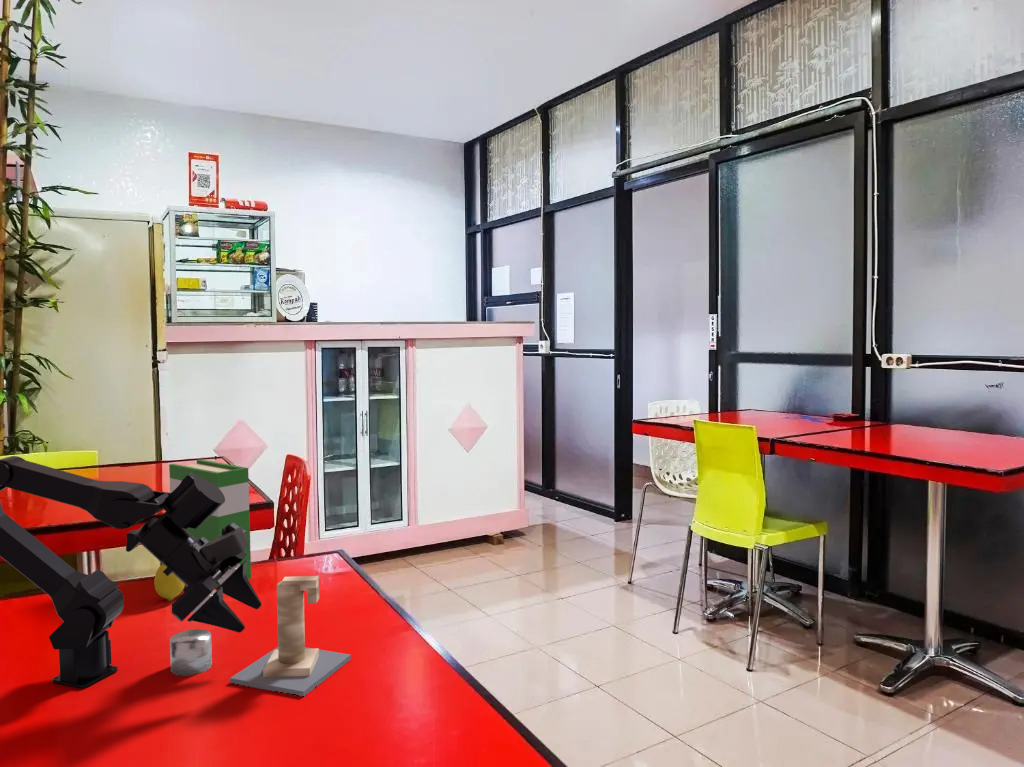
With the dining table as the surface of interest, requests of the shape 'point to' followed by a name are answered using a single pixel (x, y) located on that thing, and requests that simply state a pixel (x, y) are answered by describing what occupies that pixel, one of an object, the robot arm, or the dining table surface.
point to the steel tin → (190, 652)
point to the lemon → (167, 584)
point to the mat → (291, 684)
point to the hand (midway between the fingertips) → (251, 618)
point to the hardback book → (234, 491)
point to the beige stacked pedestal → (293, 628)
